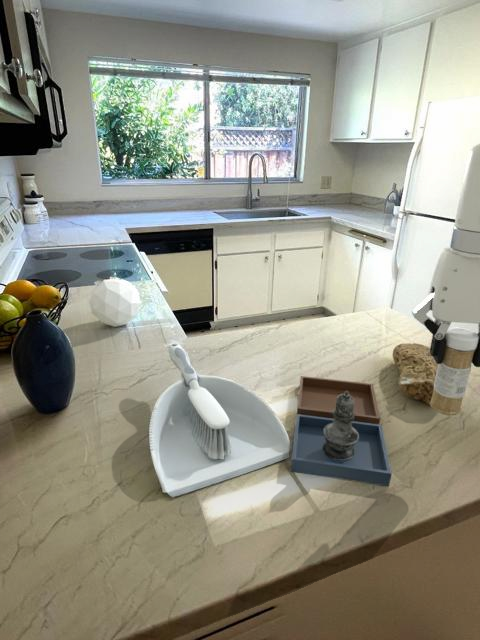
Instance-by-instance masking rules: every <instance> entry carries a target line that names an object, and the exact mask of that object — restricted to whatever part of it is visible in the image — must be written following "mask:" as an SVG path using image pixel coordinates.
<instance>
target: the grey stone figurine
mask: <svg viewBox="0 0 480 640" xmlns="http://www.w3.org/2000/svg"><path fill="white" fill-rule="evenodd" d="M354 403H355V400H354V398H353V396H351V395H349V392H348V391H345V392H344V394H340V395H339V396H338V397H337V400H336V407H335V410H333V412H332V414H333V416H334V419H333V423H330V424H328V425H326V426H325V427H324V430H323V433H324V436H325V440H326V442H325V443H324V445H323V451H324V452H325V454H326V455H327V456H328V457H330V458H332V459H334V460H338V461H347V460H350V459H351V458H353V456H354V453H355V451H354V449H353V446H354V445H355V444H356V442H357V441H358V439H359V434H358V432H357V431H356V429H354V428H353V427H352V420H354V418H355V414H354V413H353V410H354Z"/></svg>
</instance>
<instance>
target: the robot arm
mask: <svg viewBox="0 0 480 640" xmlns="http://www.w3.org/2000/svg"><path fill="white" fill-rule="evenodd" d="M466 159H467V160H466V162H465V169H464V173H463V179H462V183H461V189H460V193H459V199H458V203H457V204H458V205H457V209H456V215H455V220H454V226H453V230H452V234H451V240H450V245H449V247H444V248H442V250H441V253H440V255H439V257H438V259H437V263H436V265H435V268H434V271H433V275H432V278H431V282H430V285H429V290H428V292H427V297H426V298H424V300H423V301H421V303H419V304H418V305H417V306H416V307H415V308H414V309H413V310H412V311H411V314H412V317H413V318H414V319H415V320H416V321H418V322H419V323H420V324H422V325H423V326H424V327H425V328H426V329H427V330H428V331H429V333H431V334H432V336H431V342H430V355H431V356H433V358H434V360H435V362H436V364H441V363H442V362H443V357H444V353H445V348H446V343H447V341H446V340H445V334H446V332H447V330H448V328H450V327H451V324H452V323H459V324H461V323H462V324H476V325H477V331H478V332H477V334H478V336H479V339H478V344H477V348H476V350H475V351H474V355H473V359H472V363H471V364H472V365H473V366H474V367H476V368H480V143H478V144H475V145H473V146H472V148H471V149H470V150H469V152H468V154H467V158H466ZM430 311H432V312H431V313H432V318H433V319H434V320H433V319H432V318H431V317H430V316H429V315H427V314H428V313H429V312H430Z"/></svg>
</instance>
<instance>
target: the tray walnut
mask: <svg viewBox="0 0 480 640" xmlns="http://www.w3.org/2000/svg"><path fill="white" fill-rule="evenodd" d="M345 391H348V392H349V395H351V396H353V398H354V400H355V403H354V410H353V413H354V414H355V418H354V420H352V421H355V422H363V423H371V424H379V425H380V421H381V416H380V411H379V406H378V402H377V396H376V392H375V386H374V383H369V382H367V383H366V382H359V381H358V382H357V381H349V380H341V379H332V378H323V377H314V376H306V375H300V379H299V388H298V398H297V405H296V406H297V407H296V415H297V414H300V415H308V416H316V417H324V418H332V419H334V416H333V414H332V412H333V410H335V407H336V400H337V397H338V396H339V395H340V394H344V392H345Z"/></svg>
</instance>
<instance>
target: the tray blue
mask: <svg viewBox="0 0 480 640" xmlns="http://www.w3.org/2000/svg"><path fill="white" fill-rule="evenodd" d="M330 423H333V419H332V418H324V417H316V416H308V415H300V414H297V413H296V416H295V426H294V435H293V442H292V443H293V444H292V451H291V453H292V454H291V463H290V472H292V473H299V474H306V475H313V476H320V477H325V478H332V479H339V480H347V481H353V482H359V483H364V484H365V483H366V484H371V485H379V486H384V487H390V483H391V479H392V469H391V465H390V464H391V463H390V459H389V455H388V450H387V445H386V440H385V435H384V431H383V426H382V425H383V424H380V423H379V424H371V423H363V422H355V421H352V427H353V428H354V429H356V431H357V432H358V434H359V439H358V441H357V442H356V444H355V445H354V446H353V449H354V451H355V453H354V456H353V458H351V459H350V460H347V461H338V460H334V459H332V458H330V457H328V456H327V455H326V454H325V452H324V451H323V445H324V443H325V442H326V440H325V436H324V433H323V430H324V427H325V426H326V425H328V424H330Z"/></svg>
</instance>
